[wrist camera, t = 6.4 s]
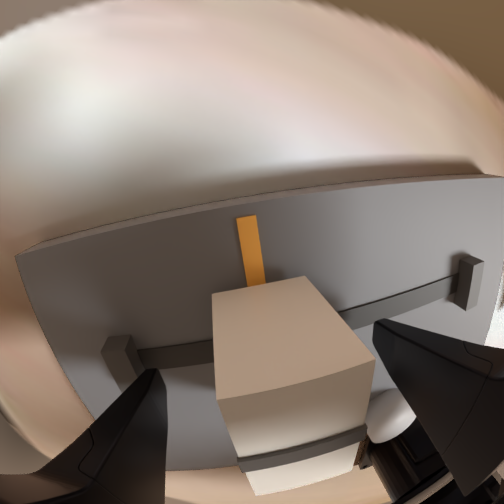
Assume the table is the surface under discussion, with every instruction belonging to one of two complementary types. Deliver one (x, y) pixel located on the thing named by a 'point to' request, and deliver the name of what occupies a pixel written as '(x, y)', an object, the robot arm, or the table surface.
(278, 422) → the block
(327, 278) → the console
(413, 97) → the table surface
